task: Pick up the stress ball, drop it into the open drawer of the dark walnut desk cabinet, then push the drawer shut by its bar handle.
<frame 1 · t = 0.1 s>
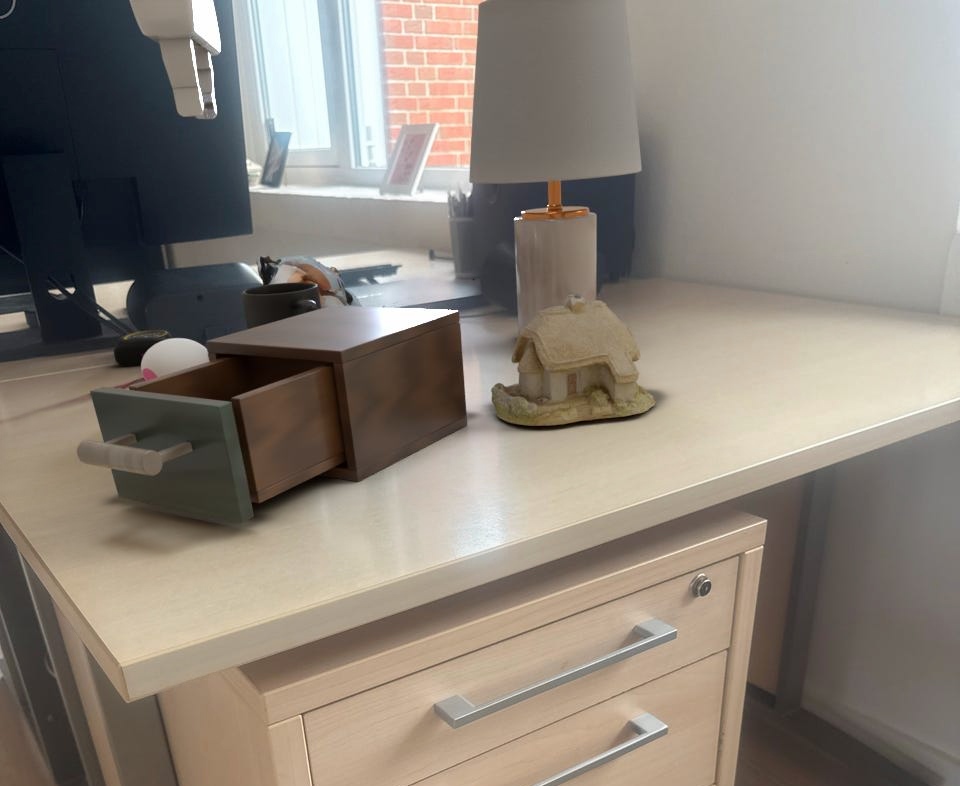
hand: (199, 118, 71), 25 cm above the table, tool pointing down, fingers open, 8 cm apart
cabinet: (352, 442, 79), on the table
lamp: (558, 344, 109), on the table
mug: (300, 383, 100), on the table
ceramic model: (574, 413, 83), on the table
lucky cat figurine: (325, 349, 115), on the table
stress ball: (182, 394, 99), on the table
drawer: (219, 434, 66), point 5 cm above the table, slide at 10.5 cm
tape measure: (153, 368, 112), on the table
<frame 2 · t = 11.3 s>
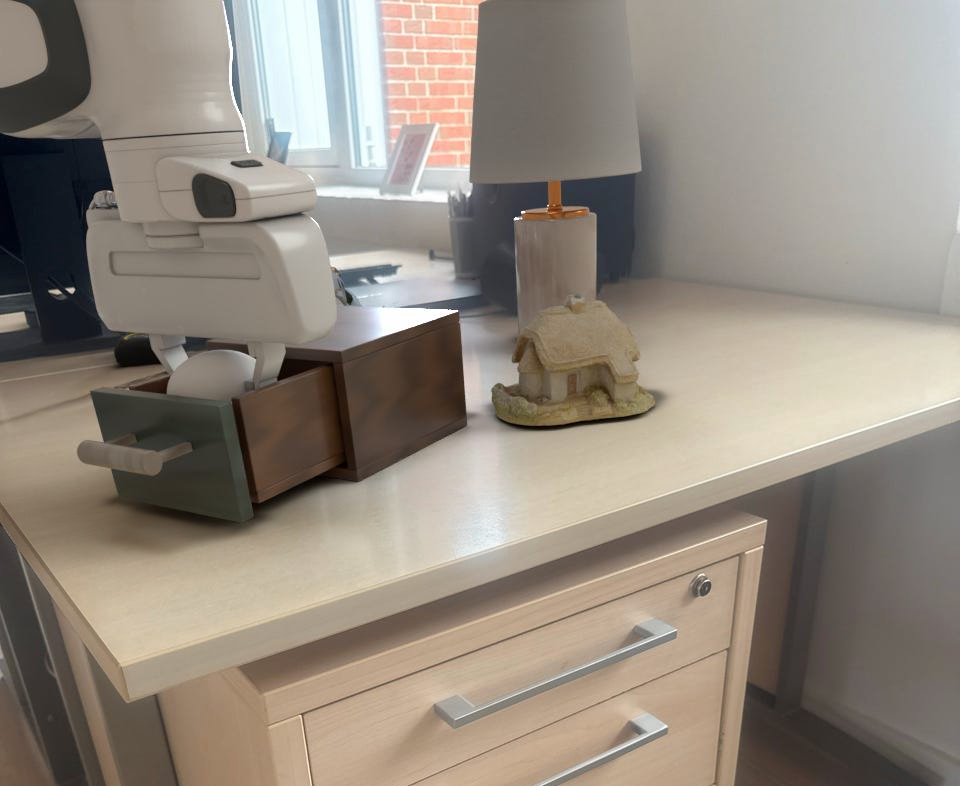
hand: (226, 399, 66), 7 cm above the table, tool pointing down, fingers closed on stress ball, 6 cm apart
stress ball: (226, 431, 67), point 5 cm above the table, touching gripper
drawer: (219, 434, 66), point 5 cm above the table, slide at 10.5 cm, touching gripper
everything else where it was.
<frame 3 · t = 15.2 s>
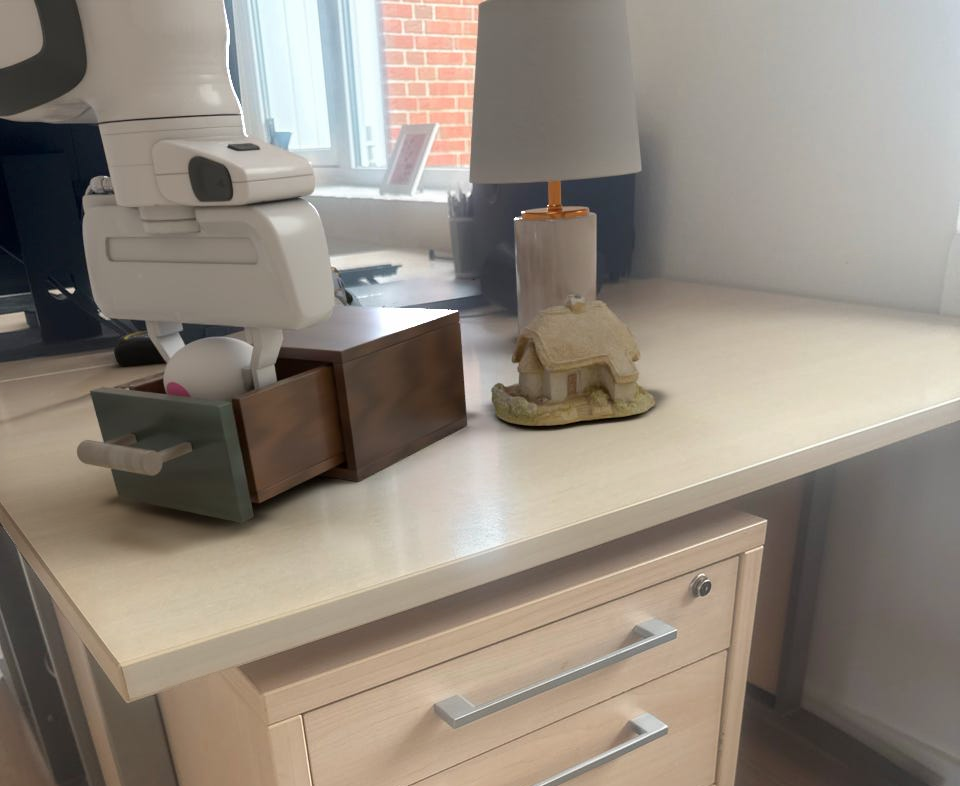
hand: (224, 387, 65), 8 cm above the table, tool pointing down, fingers closed on stress ball, 6 cm apart
stress ball: (223, 419, 67), point 6 cm above the table, touching gripper
everything else where it was.
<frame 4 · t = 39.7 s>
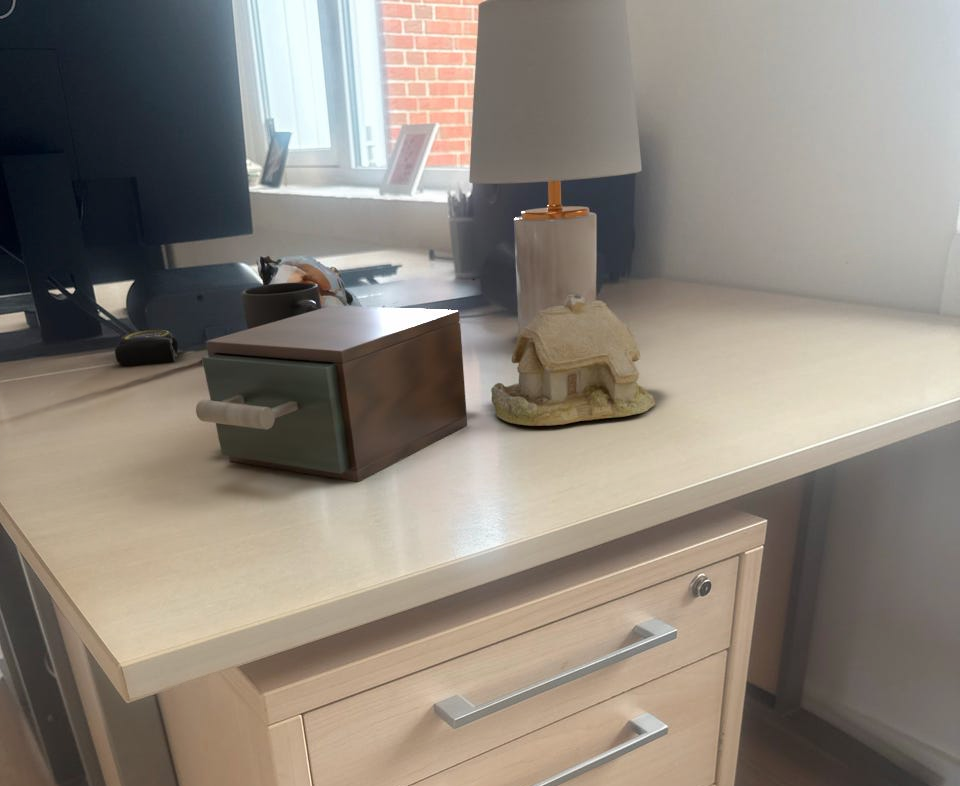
stress ball: (323, 429, 76), point 2 cm above the table, touching drawer
drawer: (313, 397, 73), point 5 cm above the table, slide at 0.0 cm, touching stress ball
everything else where it was.
at the end: drawer slide at 0.0 cm; stress ball inside the target area in the cabinet (2.8 cm from its centre), point 1.9 cm above the cabinet's base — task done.
